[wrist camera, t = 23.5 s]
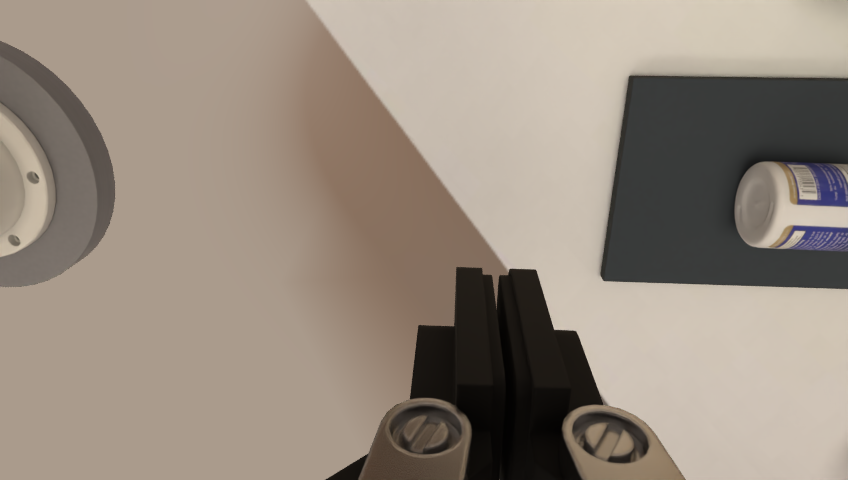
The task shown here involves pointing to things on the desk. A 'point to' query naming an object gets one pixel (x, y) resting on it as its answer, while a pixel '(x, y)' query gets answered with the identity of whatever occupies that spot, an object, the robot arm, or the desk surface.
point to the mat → (716, 177)
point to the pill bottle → (794, 206)
